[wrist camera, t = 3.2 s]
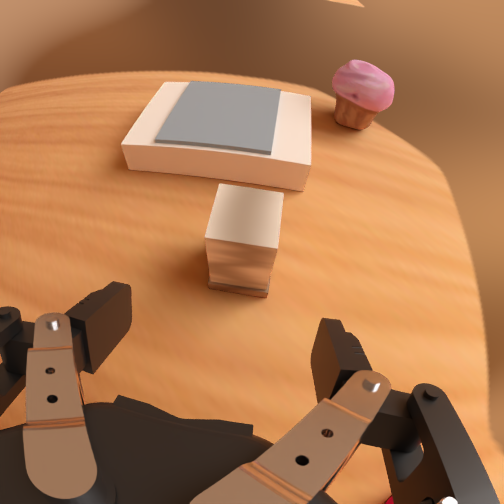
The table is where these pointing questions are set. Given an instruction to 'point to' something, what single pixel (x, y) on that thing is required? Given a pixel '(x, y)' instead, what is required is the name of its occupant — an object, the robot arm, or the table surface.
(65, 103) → the table surface
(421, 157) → the table surface
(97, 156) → the table surface
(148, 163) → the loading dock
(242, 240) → the memo note cube
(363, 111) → the cupcake
